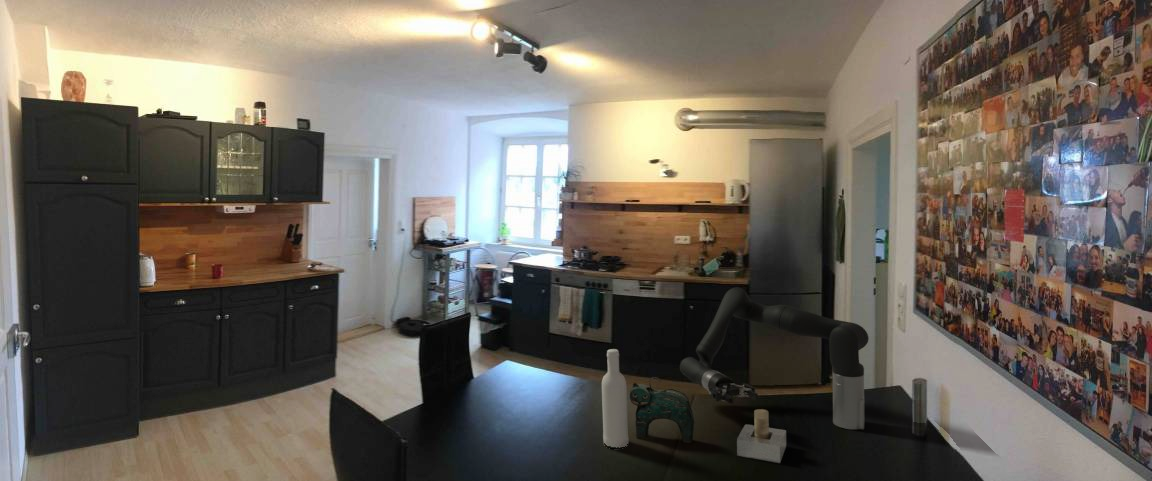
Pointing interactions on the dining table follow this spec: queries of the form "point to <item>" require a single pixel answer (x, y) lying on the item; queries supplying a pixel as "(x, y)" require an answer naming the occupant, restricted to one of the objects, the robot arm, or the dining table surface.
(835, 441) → the dining table surface
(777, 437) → the socket block
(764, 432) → the wooden peg
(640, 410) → the ceramic cat
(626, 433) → the bottle
